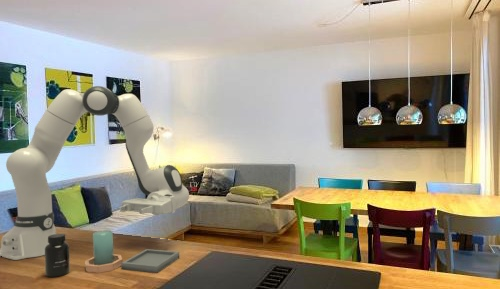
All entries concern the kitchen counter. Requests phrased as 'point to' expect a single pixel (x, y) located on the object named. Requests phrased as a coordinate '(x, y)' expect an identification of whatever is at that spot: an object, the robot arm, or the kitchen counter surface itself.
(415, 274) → the kitchen counter surface
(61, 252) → the supplement bottle
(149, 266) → the tray
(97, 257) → the teal green cylinder
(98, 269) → the holder
